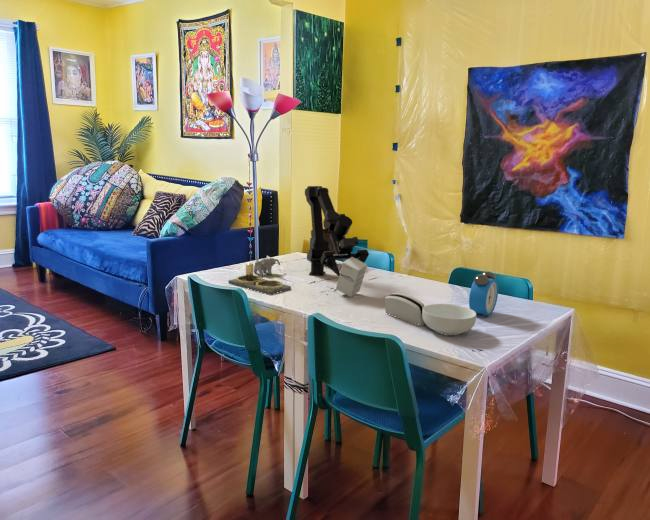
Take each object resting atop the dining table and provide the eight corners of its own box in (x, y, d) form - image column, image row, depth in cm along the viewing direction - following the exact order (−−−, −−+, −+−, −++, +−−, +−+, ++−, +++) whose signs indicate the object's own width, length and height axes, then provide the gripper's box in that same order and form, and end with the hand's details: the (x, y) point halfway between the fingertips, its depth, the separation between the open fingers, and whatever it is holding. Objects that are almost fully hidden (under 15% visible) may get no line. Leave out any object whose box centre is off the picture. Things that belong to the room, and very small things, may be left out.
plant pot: (329, 259, 279) (330, 227, 276) (346, 265, 267) (348, 232, 264) (304, 262, 271) (305, 229, 268) (320, 268, 259) (321, 234, 256)
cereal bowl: (485, 334, 176) (487, 313, 174) (449, 344, 166) (451, 322, 165) (445, 320, 189) (447, 300, 188) (410, 328, 180) (411, 307, 178)
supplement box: (334, 289, 215) (342, 261, 209) (344, 282, 221) (352, 255, 215) (350, 298, 212) (358, 270, 206) (360, 291, 218) (368, 264, 212)
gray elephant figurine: (249, 274, 245) (249, 257, 243) (268, 268, 254) (268, 252, 252) (264, 278, 239) (264, 261, 237) (283, 272, 248) (283, 255, 246)
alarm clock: (483, 320, 190) (487, 277, 187) (466, 316, 194) (470, 274, 191) (496, 311, 201) (500, 271, 197) (480, 308, 204) (483, 268, 201)
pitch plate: (228, 283, 228) (228, 263, 226) (250, 278, 237) (250, 259, 235) (269, 294, 213) (269, 274, 211) (291, 289, 222) (291, 269, 220)
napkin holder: (432, 323, 185) (427, 298, 181) (423, 330, 183) (418, 305, 179) (395, 311, 198) (389, 286, 193) (386, 317, 195) (380, 293, 191)
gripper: (323, 230, 212) (333, 263, 204) (367, 229, 219) (379, 260, 211) (316, 248, 221) (326, 280, 213) (358, 246, 228) (370, 277, 219)
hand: (350, 274), depth 214 cm, fingers closed on supplement box, 9 cm apart
